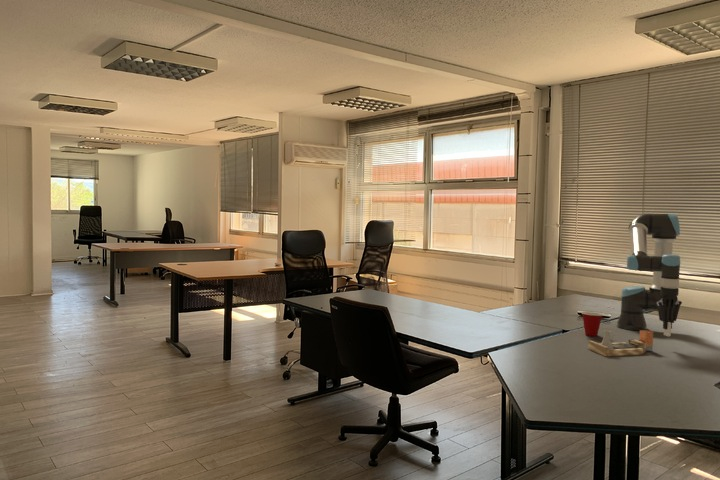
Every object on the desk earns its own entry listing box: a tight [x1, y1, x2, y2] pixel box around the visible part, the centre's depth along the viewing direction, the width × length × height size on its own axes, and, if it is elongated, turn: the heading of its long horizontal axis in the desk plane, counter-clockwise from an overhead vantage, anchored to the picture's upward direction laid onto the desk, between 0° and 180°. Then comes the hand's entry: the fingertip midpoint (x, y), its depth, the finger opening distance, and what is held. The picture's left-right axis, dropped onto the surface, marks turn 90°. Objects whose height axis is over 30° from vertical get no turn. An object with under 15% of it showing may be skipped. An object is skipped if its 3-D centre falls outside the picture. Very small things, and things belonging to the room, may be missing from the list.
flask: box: [601, 330, 613, 350], centre depth 253 cm, size 7×7×10 cm
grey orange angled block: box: [612, 329, 654, 352], centre depth 256 cm, size 20×4×9 cm, turn 102°
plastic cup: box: [581, 311, 604, 337], centre depth 288 cm, size 11×11×12 cm
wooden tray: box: [587, 338, 647, 357], centre depth 255 cm, size 23×12×4 cm, turn 102°
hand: (667, 335), depth 261 cm, fingers closed
